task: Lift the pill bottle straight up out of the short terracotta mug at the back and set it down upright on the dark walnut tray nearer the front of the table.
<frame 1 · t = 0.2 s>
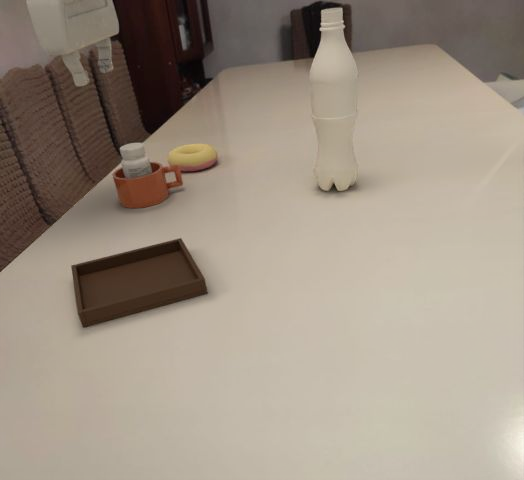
hand: (95, 78, 82), 20 cm above the table, tool pointing down, fingers open, 8 cm apart
donut: (194, 166, 106), on the table
water bottle: (336, 187, 89), on the table
tray: (138, 285, 69), on the table
pill bottle: (144, 196, 94), resting on mug
mug: (144, 198, 94), on the table
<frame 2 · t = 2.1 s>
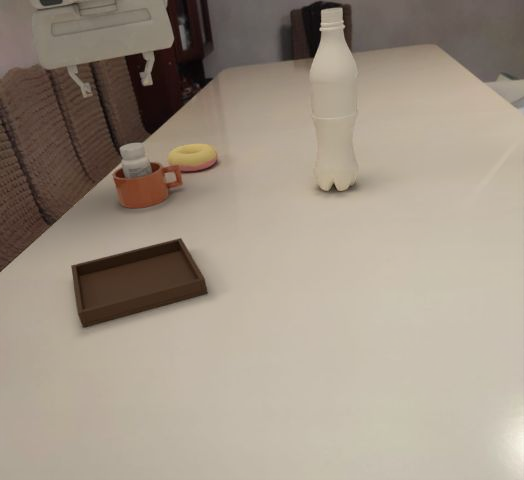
hand: (118, 90, 83), 18 cm above the table, tool pointing down, fingers open, 8 cm apart
nothing on the table moved.
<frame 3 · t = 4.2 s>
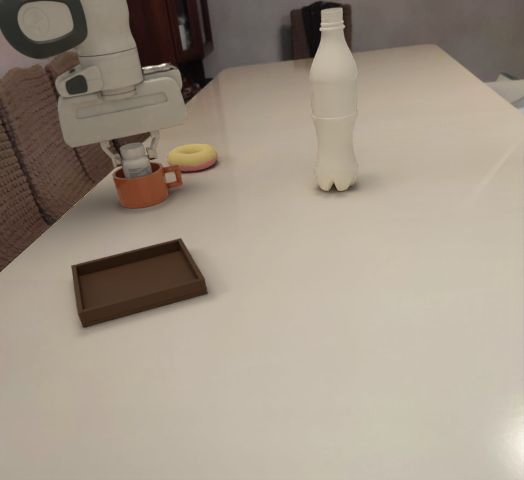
hand: (135, 162, 90), 6 cm above the table, tool pointing down, fingers closed on pill bottle, 5 cm apart
pill bottle: (144, 196, 94), resting on mug, touching gripper
everything else where it was.
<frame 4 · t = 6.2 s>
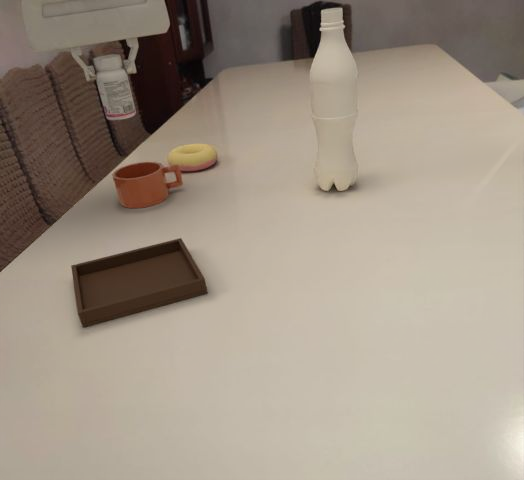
hand: (111, 76, 80), 20 cm above the table, tool pointing down, fingers closed on pill bottle, 5 cm apart
pill bottle: (121, 118, 84), point 14 cm above the table, touching gripper
everything else where it was.
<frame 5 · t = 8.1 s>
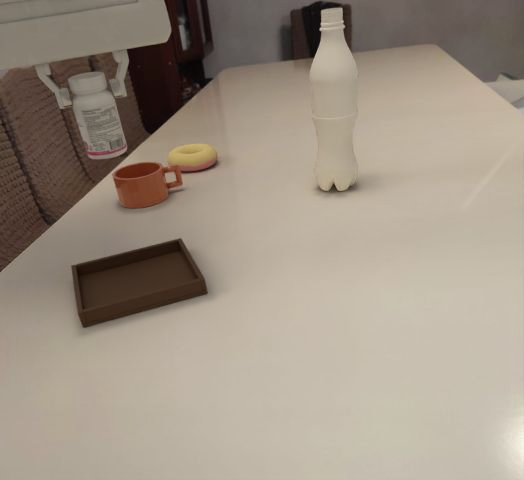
hand: (93, 102, 60), 21 cm above the table, tool pointing down, fingers closed on pill bottle, 5 cm apart
pill bottle: (108, 155, 63), point 15 cm above the table, touching gripper
everything else where it was.
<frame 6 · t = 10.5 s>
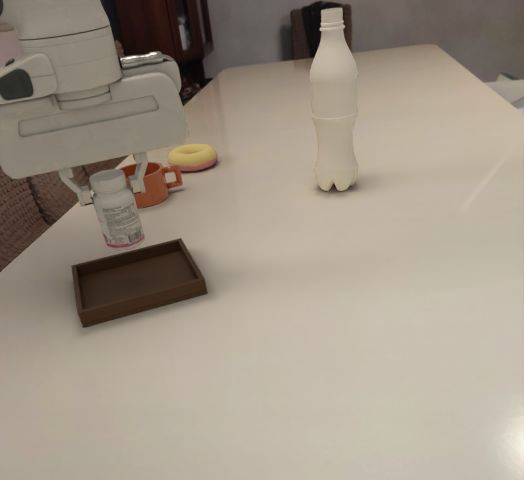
hand: (112, 198, 62), 12 cm above the table, tool pointing down, fingers closed on pill bottle, 5 cm apart
pill bottle: (126, 244, 65), point 6 cm above the table, touching gripper
everything else where it was.
when the fingers open (6 cm above the table, at t = 12.3 s): pill bottle stays where it is, resting on tray.
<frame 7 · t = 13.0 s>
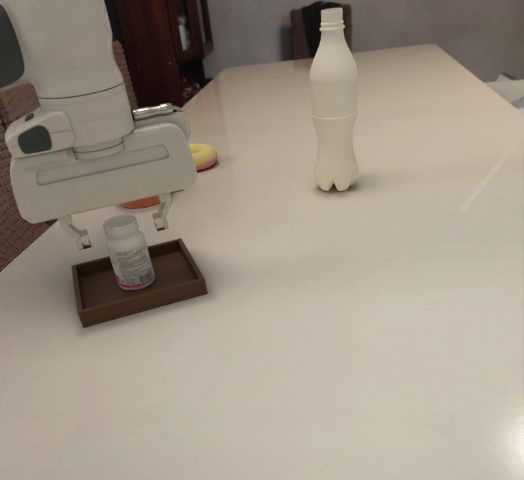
hand: (124, 237, 65), 7 cm above the table, tool pointing down, fingers open, 8 cm apart
pill bottle: (137, 283, 69), resting on tray
everything else where it was.
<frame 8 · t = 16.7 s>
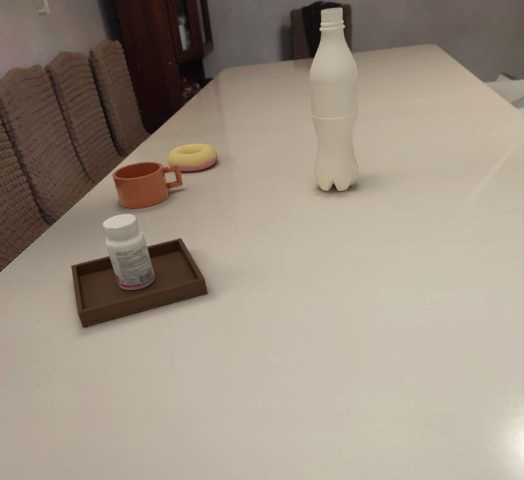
hand: (6, 20, 67), 29 cm above the table, tool pointing down, fingers open, 8 cm apart
nothing on the table moved.
at the end: pill bottle inside the target area in the tray (0.0 cm from its centre), point 0.3 cm above the tray's base; pill bottle tilted 0°; the gripper is holding nothing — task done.
